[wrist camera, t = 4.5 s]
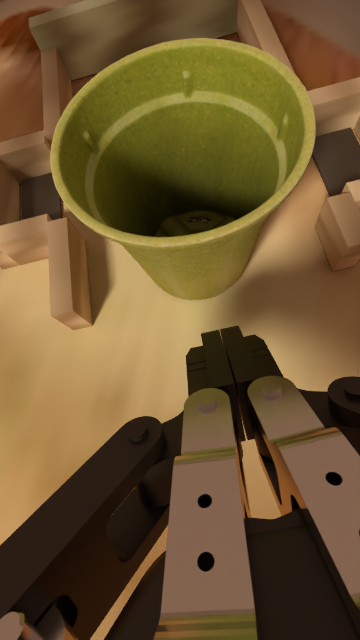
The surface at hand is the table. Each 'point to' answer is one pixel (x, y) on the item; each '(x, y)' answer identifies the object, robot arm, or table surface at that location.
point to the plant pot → (185, 156)
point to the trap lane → (107, 48)
